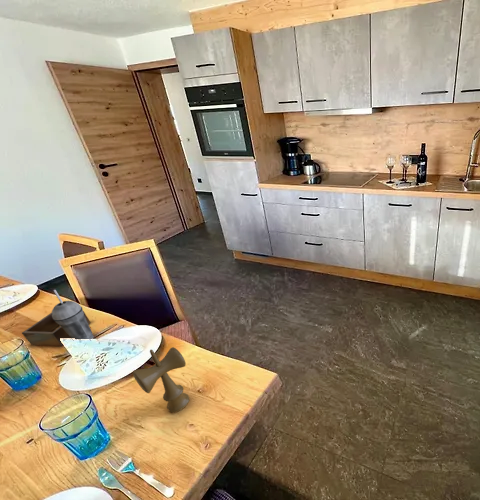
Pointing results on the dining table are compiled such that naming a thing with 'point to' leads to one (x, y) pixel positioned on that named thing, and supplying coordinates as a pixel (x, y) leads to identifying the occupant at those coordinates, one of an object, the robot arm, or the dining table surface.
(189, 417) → the dining table surface
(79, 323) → the beverage cup
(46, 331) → the crate
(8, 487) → the dining table surface
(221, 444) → the dining table surface
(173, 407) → the kendama
